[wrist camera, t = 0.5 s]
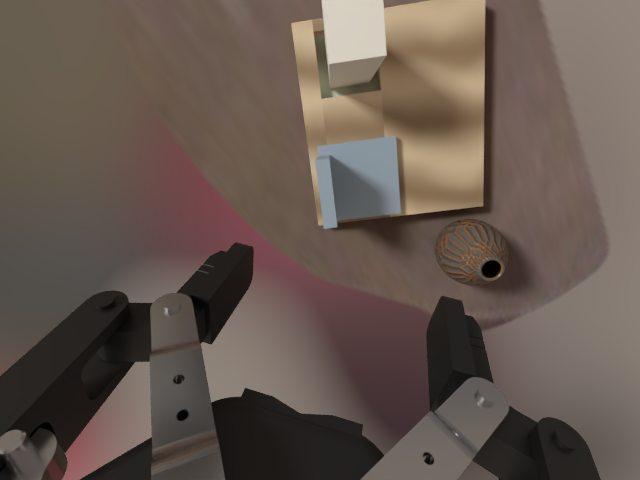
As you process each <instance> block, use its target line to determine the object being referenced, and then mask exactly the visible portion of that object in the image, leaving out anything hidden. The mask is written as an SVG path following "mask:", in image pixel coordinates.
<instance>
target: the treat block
mask: <svg viewBox="0 0 640 480" xmlns="http://www.w3.org/2000/svg"><path fill="white" fill-rule="evenodd" d="M322 9H323V22H324V34H325V46H326V55H327V64H328V73H329V82H330V89H332V88H339V87H346V86H353V85H360V84H366V83H369V82H370V81H371V79H372V77H373V76H374V74H375V73H376V71H377V70H378V68H379V67H380V65H381V63H382V62H383V60H384V59H385V57H386V56H387V52H386V37H385V22H384V7H383V0H322Z"/></svg>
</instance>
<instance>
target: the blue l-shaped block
mask: <svg viewBox="0 0 640 480" xmlns="http://www.w3.org/2000/svg"><path fill="white" fill-rule="evenodd" d="M317 149H318V157H317V159H316V160H315V163H316V171H317V179H318V186H319V194H320V202H321V209H322V217H323V225H324V229H326V228H335V227H337V221H339V220H348V219H356V218H365V217H373V216H382V215H390V214H399V213H401V208H400V192H399V176H398V160H397V144H396V136H390V137H382V138H375V139H367V140H360V141H353V142H345V143H338V144H330V145H323V146H317Z"/></svg>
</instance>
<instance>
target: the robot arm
mask: <svg viewBox="0 0 640 480" xmlns="http://www.w3.org/2000/svg"><path fill="white" fill-rule="evenodd" d="M253 253H254V252H253V247H252V246H248V245H244V244H240V243H234V244H233V245H232V246H231V248H230V249H229V250H228V251H227V252H224V251H219V252H217V253H215V254H213V255H212V256H210V257H209V258H208V259H207V260H206V262H205V263H204V264H203V265H202V266H201V267H200V268H199V269H198V271H196V272H195V273H194V274H193V275H192V277H191V278H190V279H189V280H188V281H187V282H186V283H185V284H184V285H183V286H182V287H181V289H180V290H179V291H178V292H177V293H170V294H166V295H163V296H161V297H159V298H157V299H156V300H155V301H154V302H153V303H129V301H128V298H127V296H126V295H125V294H124V293H122V292H119V291H105V292H101V293H98V294H95V295H93V296H92V297H90V298H89V299H87V300H86V301H85V302H84V303H83V304H82V305H80V307H78V308H77V309H76V310H75V311H74V312H72V313H71V314H70V315H69V316H68V317H67V318H66V319H65V320H63V321H62V322H61V323H60V324H59V325H58V326H57V327H55V328H54V329H53V330H52V331H51V332H50V333H49V334H48V335H46V336H45V337H44V338H43V339H42V340H41V341H40V342H38V343H37V344H36V345H35V346H34V347H33V348H32V349H31V350H30V351H28V352H27V353H26V354H25V355H24V356H23V357H22V358H20V359H19V360H18V361H17V362H16V363H15V364H14V365H12V366H11V367H10V368H9V369H8V370H7V371H6V372H5V373H3V374H2V375H1V376H0V480H62V478H63V477H64V475H65V472H66V469H67V464H68V461H67V457H66V454H65V452H66V451H67V450H68V448H69V447H70V446H71V444H72V443H73V442H74V441H75V439H76V438H77V437H78V436H79V434H80V433H81V431H82V430H83V429H84V428H85V426H86V425H87V424H88V423H89V421H90V420H91V419H92V417H93V416H94V415H95V413H96V412H97V411H98V409H99V408H100V407H101V406H102V404H103V403H104V402H105V401H106V399H107V398H108V396H109V395H110V394H111V393H112V391H113V390H114V389H115V388H116V386H117V385H118V384H119V382H120V381H121V380H122V378H123V377H124V376H125V375H126V373H127V372H128V371H129V369H130V368H131V367H132V365H133V364H134V363H135V362H146V361H147V362H148V361H149V362H150V388H151V389H150V390H151V423H152V424H151V425H152V437H151V438H150V439H148V440H146V441H144V442H143V443H141V444H139V445H138V446H136V447H134V448H132V449H131V450H129V451H127V452H126V453H124V454H122V455H121V456H119V457H117V458H116V459H114V460H112V461H111V462H109V463H107V464H105V465H104V466H102V467H100V468H99V469H97V470H96V471H94V472H92V473H90V474H88V475H87V476H85V477H83V478H82V479H80V480H457V479H458V477H459V476H460V475H461V474H462V472H463V471H464V470H465V468H466V467H467V466H468V464H469V463H470V462H471V461H474V462H476V463H477V464H479V465H480V466H482V467H483V468H485V469H486V470H488V471H489V472H491V473H492V474H494V475H495V476H497V477H498V478H499V480H601V479H600V477H599V474H598V471H597V468H596V466H595V463H594V461H593V458H592V455H591V452H590V450H589V448H588V445H587V444H586V442H585V441H584V439H583V438H582V437H581V436H580V435H579V433H578V432H576V431H575V430H574V429H573V428H572V427H570V426H569V425H568V424H566V423H565V422H563V421H561V420H558V419H555V418H549V417H548V418H543V419H541V420H540V421H539V422H538V423H537V422H536V421H534V420H532V419H530V418H529V417H527V416H525V415H523V414H522V413H520V412H518V411H516V410H515V409H513V408H512V407H511V406H509V404H508V401H507V399H506V397H505V395H504V394H503V392H502V391H501V390H500V389H499V388H498V387H497V386H496V385H494V383H493V379H492V375H491V371H490V366H489V362H488V358H487V353H486V350H485V345H484V341H483V336H482V332H481V328H480V326H479V325H478V324H477V322H476V321H475V319H474V318H473V317H471V316H468V315H465V312H464V307H463V302H462V301H461V300H457V299H453V298H449V297H445V296H442V297H441V298H440V300H439V302H438V304H437V306H436V308H435V311H434V313H433V315H432V317H431V320H430V322H429V325H428V328H427V335H426V339H427V362H428V383H429V404H430V412H429V413H428V414H427V415H426V416H425V417H424V418H423V419H422V420H421V421H420V422H419V423H418V424H417V425H416V426H415V427H414V428H413V429H412V430H411V431H410V432H409V433H408V434H406V436H404V437H403V438H402V439H401V440H400V441H399V443H397V444H396V445H395V446H394V447H393V448H392V449H391V450H390V451H389V452H388V453H387V454H386V455H385V456H384V455H383V453H382V452H381V451H380V450H379V449H378V448H377V447H376V446H375V445H374V444H373V443H372V442H371V441H370V440H368V439H367V438H366V437H364V436H363V435H362V428H363V425H362V424H359V423H356V422H353V421H349V420H346V419H343V418H340V417H336V416H333V415H315V414H301V413H299V412H297V411H295V410H294V409H292V408H290V407H289V406H287V405H286V404H284V403H282V402H281V401H279V400H277V399H276V398H274V397H272V396H269V395H266V394H263V393H260V392H257V391H253V390H250V389H247V388H245V390H244V392H243V394H242V396H241V397H229V398H224V399H220V400H217V401H214V402H212V403H211V400H210V394H209V389H208V383H207V378H206V372H205V366H204V360H203V354H202V348H201V343H202V342H205V343H208V344H212V343H213V342H214V340H215V339H216V337H217V335H218V334H219V332H220V331H221V329H222V328H223V326H224V325H225V323H226V322H227V320H228V319H229V317H230V316H231V314H232V313H233V311H234V309H235V308H236V307H237V305H238V303H239V302H240V300H241V299H242V297H243V296H244V294H245V293H246V291H247V290H248V288H249V286H250V284H251V281H252V276H253Z"/></svg>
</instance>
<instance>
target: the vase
mask: <svg viewBox="0 0 640 480" xmlns="http://www.w3.org/2000/svg"><path fill="white" fill-rule="evenodd" d="M435 253H436V258H437V261H438V263H439V265H440V267H441V268H442V270H443V271H444V272H445V273H446V274H447V275H448V276H449V277H450V278H452V279H453V280H455V281H457V282H459V283H462V284H466V285H471V286H479V285H484V284H488V283H490V282H492V281H495V280H497V279H499V278H500V277H501V276H502V275H503V273H504V270H505V268H506V266H507V264H508V259H509V251H508V247H507V244H506V241H505V239H504V238H503V236H502V235H501V234H500V232H499V231H498V230H497V229H495V228H494V227H493V226H491V225H489V224H487V223H485V222H483V221H479V220H475V219H464V220H459V221H456V222H453V223H451V224H450V225H448V226H447V227H445V228H444V229H443V230H442V232H441V233H440V235H439V236H438V238H437V241H436V246H435Z"/></svg>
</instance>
